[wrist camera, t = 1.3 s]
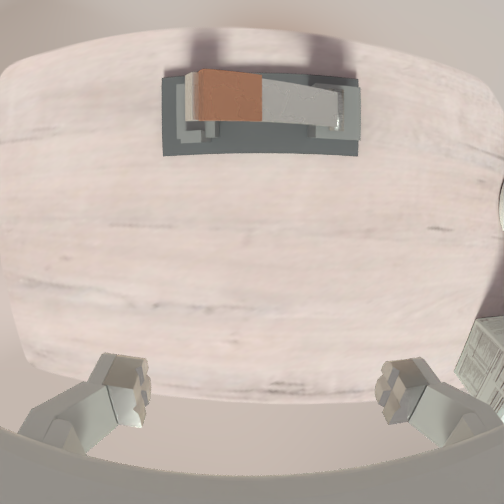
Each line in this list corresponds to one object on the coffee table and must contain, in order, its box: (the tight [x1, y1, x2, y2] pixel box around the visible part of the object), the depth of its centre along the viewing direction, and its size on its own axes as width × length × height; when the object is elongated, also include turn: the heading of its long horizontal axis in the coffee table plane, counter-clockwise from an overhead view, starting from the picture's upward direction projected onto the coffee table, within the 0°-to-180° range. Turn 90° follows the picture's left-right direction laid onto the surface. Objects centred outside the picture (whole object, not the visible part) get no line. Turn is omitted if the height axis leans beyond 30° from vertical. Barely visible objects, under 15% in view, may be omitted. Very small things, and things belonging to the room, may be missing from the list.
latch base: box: [162, 73, 361, 156], centre depth 32 cm, size 24×10×9 cm, turn 90°
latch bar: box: [185, 69, 344, 131], centre depth 25 cm, size 17×4×2 cm
